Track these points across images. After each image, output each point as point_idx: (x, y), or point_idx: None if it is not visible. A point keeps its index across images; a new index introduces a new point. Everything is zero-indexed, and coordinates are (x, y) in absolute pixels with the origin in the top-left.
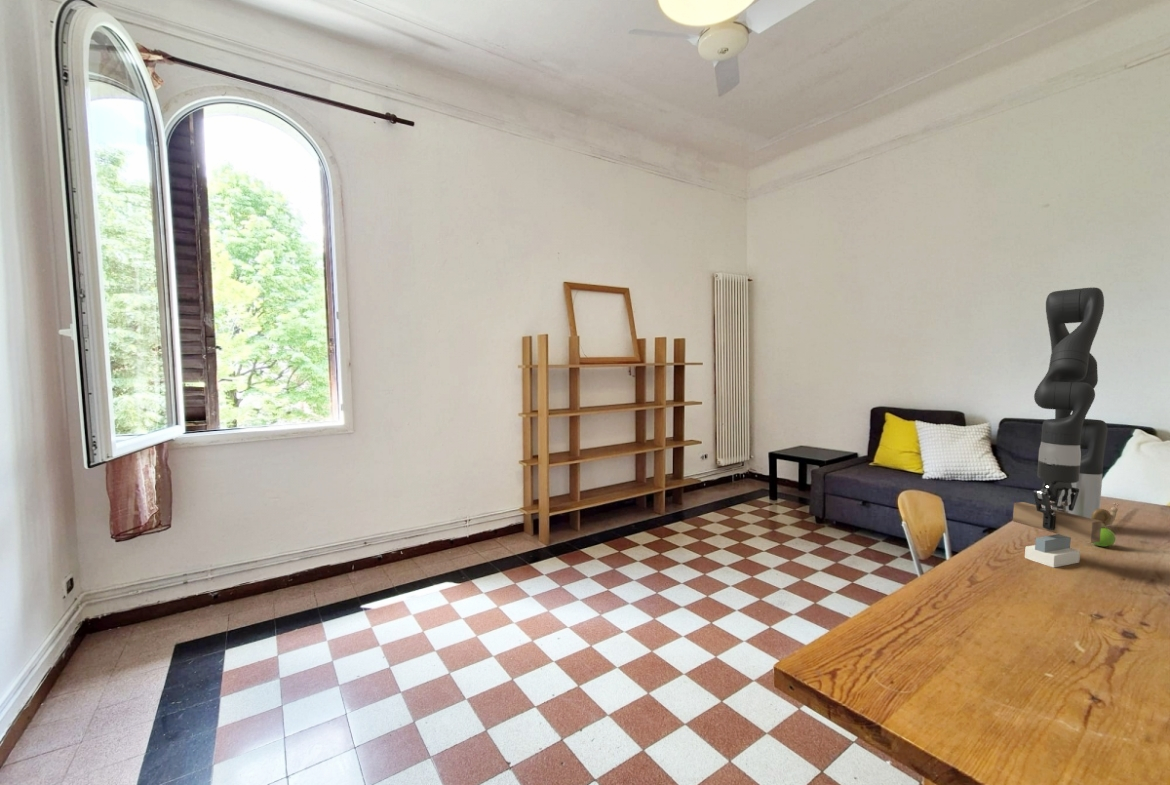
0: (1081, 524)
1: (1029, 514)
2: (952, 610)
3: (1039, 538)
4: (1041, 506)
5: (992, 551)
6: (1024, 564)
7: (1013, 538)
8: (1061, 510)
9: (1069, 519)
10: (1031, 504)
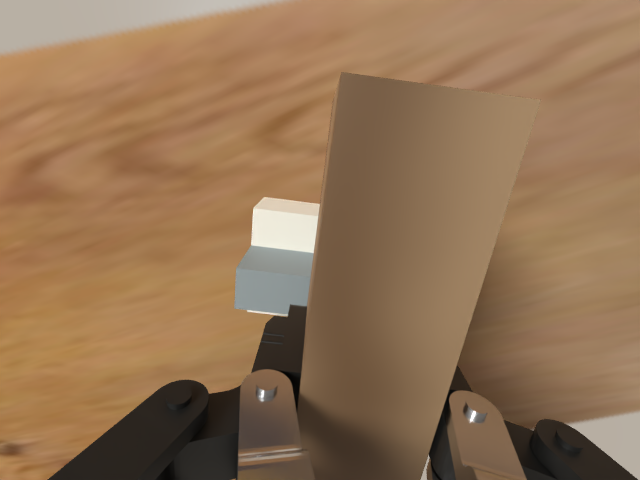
0: None
1: (317, 236)
2: None
3: (248, 280)
4: (174, 450)
5: (212, 89)
6: (187, 228)
7: (535, 32)
8: (435, 458)
9: None
10: (484, 217)
